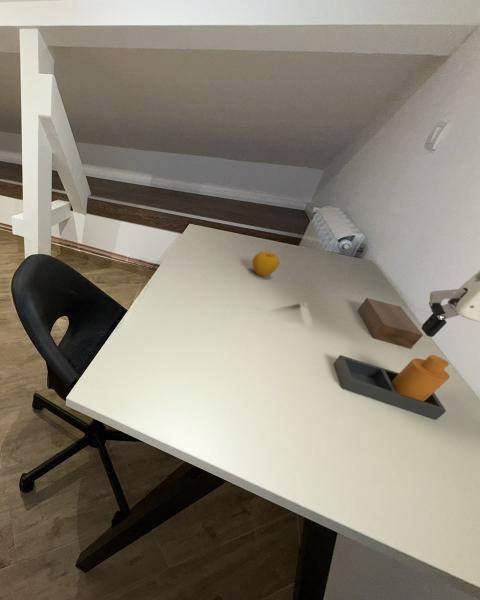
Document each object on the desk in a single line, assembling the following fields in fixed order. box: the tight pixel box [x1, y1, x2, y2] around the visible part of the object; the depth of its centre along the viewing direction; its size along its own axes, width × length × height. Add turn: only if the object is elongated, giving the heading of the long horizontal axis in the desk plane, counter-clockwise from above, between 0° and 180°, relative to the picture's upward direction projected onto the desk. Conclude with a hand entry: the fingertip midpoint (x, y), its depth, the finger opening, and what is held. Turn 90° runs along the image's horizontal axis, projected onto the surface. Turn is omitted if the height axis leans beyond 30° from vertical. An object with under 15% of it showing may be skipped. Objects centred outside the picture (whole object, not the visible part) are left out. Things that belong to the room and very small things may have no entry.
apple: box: [251, 251, 280, 278], centre depth 115 cm, size 9×8×9 cm
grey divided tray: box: [333, 354, 447, 421], centre depth 71 cm, size 9×17×4 cm, turn 66°
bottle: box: [391, 354, 451, 401], centre depth 67 cm, size 6×6×12 cm
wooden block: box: [357, 297, 424, 349], centre depth 93 cm, size 9×16×5 cm, turn 156°
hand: (456, 341), depth 61 cm, fingers open, 9 cm apart
